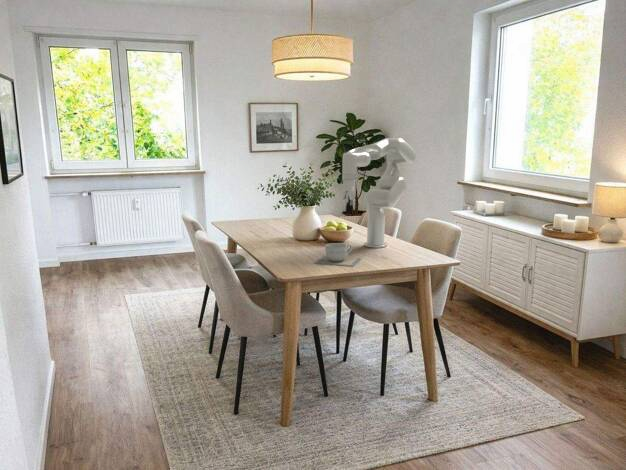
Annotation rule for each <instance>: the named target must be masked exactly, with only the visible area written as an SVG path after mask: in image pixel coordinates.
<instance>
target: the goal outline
mask: <svg viewBox="0 0 626 470" xmlns="http://www.w3.org/2000/svg"><path fill="white" fill-rule="evenodd" d="M325 258H327V257H326V254H325V255H323V256H321V257H319V258H318V259H317V260H315V261H314V262H313V264H318V265H327V266H328V265H329V266H341V267H352V268H353V267H355V266H356V265H358V263H359V262H360V261H361V260H362V258H360V257H357V259H355V260H354V261H353V262H352V263H351V264H345V263H344V264H343V263H335V262H334V263H331V262H322V261H323V260H324V259H325Z"/></svg>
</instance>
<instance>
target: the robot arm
mask: <svg viewBox="0 0 626 470" xmlns="http://www.w3.org/2000/svg"><path fill="white" fill-rule="evenodd" d="M385 156H386V166H387V167H386V169H385V172H383V174H382V175H381V177H380V179H379V180H378V182H377V185H376V186H377V188H371V189H369V190H368V191H367V192H366V196H365V201H366V206H367V223H366V224H367V228H366V229H367V230H366V233H367V235H366V241H365V242H364V243H363V246H364V247H366V248H373V249H374V248H376V249H380V248H386V247H387V246H388V244H387V242H385V228H386V214H385V213H386V212H385V210H384V208H388V209H389V208H395V206H396V205H397V204H398V203H399V201H400V199H401V197H402V196H403V194H404V193H405V191H406V187H407V181H406V179H405V178H404V177H403V176H401V174H402V172H401V169H400V167H399V164H408V165H409V164H413V162H415V160H416V152H415V149H413V147H412V146H411V145H409V143H408V142H407V141H405V140H404V139H403V138H400V137H399V138H398V137H387V138H383V139H381V140H379V141H376V142H374V143H372V144H367V145H364V146H360V147H356V148H353V149H350V150H348V151H346V152H344V153H343V154H342V170H341V171H342V176H341V178H342V179H341V180H342V188H341V189H342V192H341V193H342V194H341V200H345V213H346V214H352V213H353V210H354V205H353V204H354V199H355V198H356V196H357V195H356V194H357V192H356V189H357V187H356V186H357V184H356V181H358V168H359V167H363V168H364V167H367V166H369V165H370V164H371V161H374V160H375V161H376V160H379V159H381V158H383V157H385Z"/></svg>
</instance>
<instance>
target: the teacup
mask: <svg viewBox="0 0 626 470" xmlns="http://www.w3.org/2000/svg"><path fill="white" fill-rule="evenodd" d="M324 247H325V256H326V258H327V259H328V260H329V261H331V262H342V261H344V260H345V259H346V258H347V255H348V254H350V253H351V252H352V251H353V246H352V244H351V243H342V242H337V243H336V242H335V243H334V242H332V243H328V244H325V245H324ZM348 247H349V250H348Z"/></svg>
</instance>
